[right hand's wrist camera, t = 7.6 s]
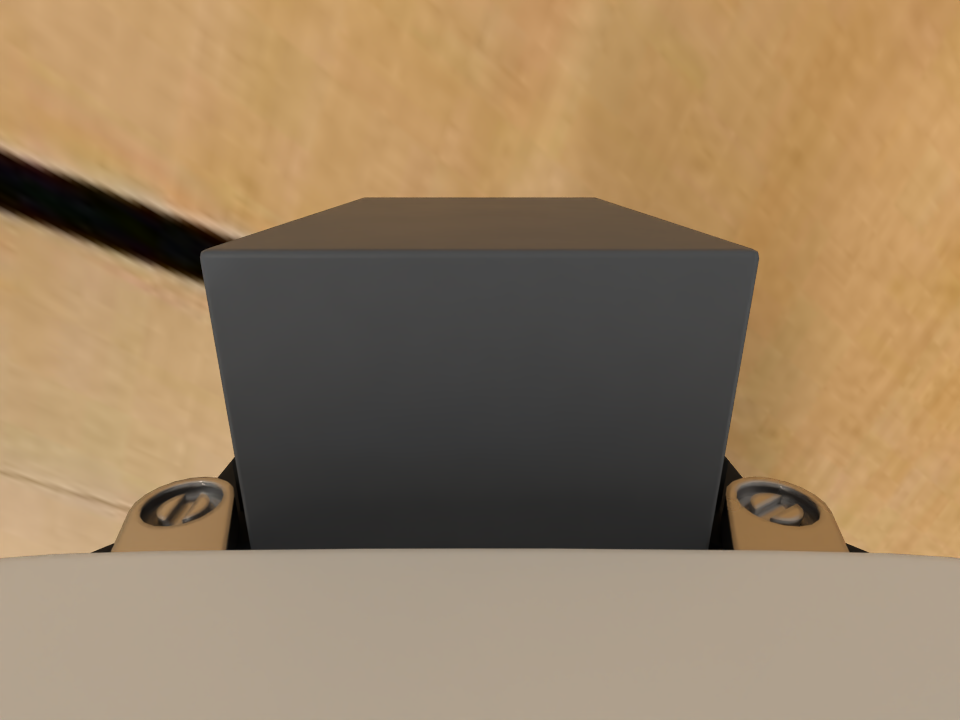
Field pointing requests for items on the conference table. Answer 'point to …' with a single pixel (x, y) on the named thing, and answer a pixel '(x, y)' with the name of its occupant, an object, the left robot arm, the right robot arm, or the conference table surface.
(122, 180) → the conference table surface
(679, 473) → the beam
